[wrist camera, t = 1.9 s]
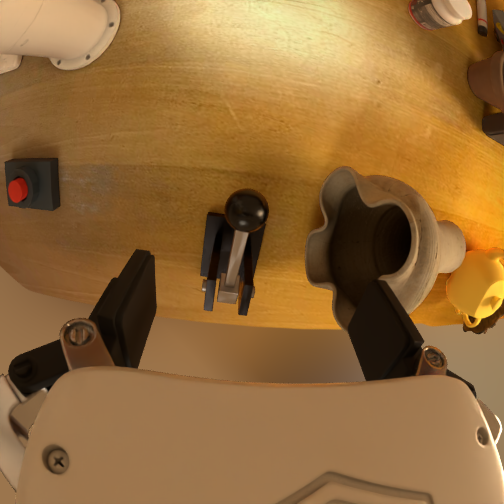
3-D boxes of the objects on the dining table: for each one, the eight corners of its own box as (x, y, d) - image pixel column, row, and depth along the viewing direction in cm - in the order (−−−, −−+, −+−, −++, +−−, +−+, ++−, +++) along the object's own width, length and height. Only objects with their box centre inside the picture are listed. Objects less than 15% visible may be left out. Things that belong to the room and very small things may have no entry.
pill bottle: (418, -4, 19) (455, -18, 10) (440, 24, 21) (480, 16, 13) (400, 6, 21) (437, -10, 12) (423, 35, 23) (464, 27, 14)
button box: (15, 201, 34) (2, 209, 30) (12, 158, 30) (-3, 165, 26) (60, 206, 35) (46, 215, 32) (58, 158, 31) (43, 164, 28)
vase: (521, 215, 24) (442, 174, 15) (477, 340, 31) (363, 400, 22) (426, 183, 43) (305, 153, 34) (401, 285, 50) (282, 297, 42)
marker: (482, 37, 20) (489, 36, 18) (475, 31, 20) (482, 30, 18) (479, -14, 13) (485, -15, 11) (472, -19, 12) (478, -21, 11)
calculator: (-18, 81, 20) (-24, 81, 19) (8, -7, 11) (3, -8, 9) (20, 68, 22) (13, 68, 20) (53, -28, 13) (47, -31, 11)
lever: (229, 176, 20) (224, 207, 18) (273, 183, 21) (273, 215, 19) (214, 279, 33) (211, 305, 31) (242, 283, 33) (240, 308, 31)
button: (15, 198, 30) (9, 202, 28) (13, 177, 28) (7, 180, 27) (29, 199, 30) (22, 203, 29) (27, 177, 29) (20, 181, 27)
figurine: (518, 248, 40) (517, 280, 50) (452, 310, 51) (462, 330, 61) (546, 283, 31) (537, 311, 40) (474, 351, 42) (478, 363, 51)
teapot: (428, 302, 47) (457, 344, 36) (465, 215, 38) (509, 248, 27) (464, 300, 48) (492, 336, 37) (498, 225, 39) (536, 255, 28)
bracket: (208, 211, 37) (194, 254, 27) (265, 220, 38) (273, 265, 28) (201, 271, 42) (189, 325, 32) (252, 278, 43) (254, 333, 32)
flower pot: (499, 113, 27) (537, 124, 19) (464, 113, 29) (507, 123, 20) (488, 55, 22) (526, 57, 13) (450, 48, 23) (493, 45, 14)
